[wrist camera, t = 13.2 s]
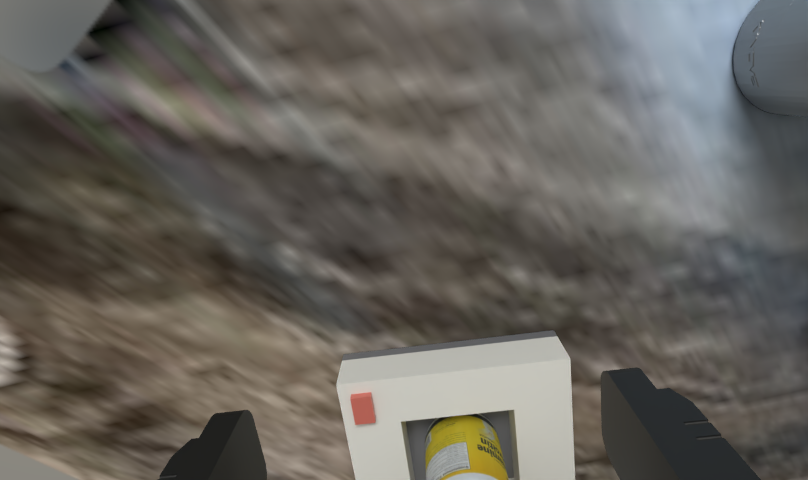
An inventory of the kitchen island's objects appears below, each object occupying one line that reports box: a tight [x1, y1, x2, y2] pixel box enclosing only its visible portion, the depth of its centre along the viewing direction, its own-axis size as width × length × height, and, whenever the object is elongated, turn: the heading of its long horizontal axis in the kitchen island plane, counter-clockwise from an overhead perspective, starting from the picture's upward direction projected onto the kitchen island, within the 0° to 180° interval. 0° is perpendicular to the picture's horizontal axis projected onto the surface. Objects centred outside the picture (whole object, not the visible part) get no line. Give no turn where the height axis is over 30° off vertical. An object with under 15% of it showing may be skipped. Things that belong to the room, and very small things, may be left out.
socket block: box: [336, 330, 575, 480], centre depth 42 cm, size 18×18×5 cm
